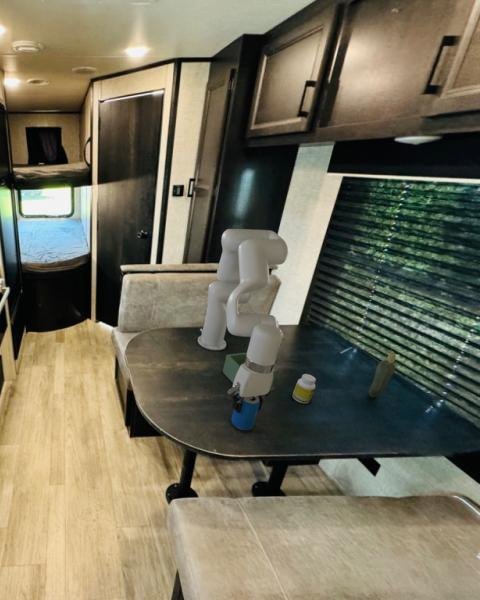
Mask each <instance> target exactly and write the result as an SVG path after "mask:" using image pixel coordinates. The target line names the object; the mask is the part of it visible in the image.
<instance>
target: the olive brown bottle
mask: <svg viewBox="0 0 480 600" xmlns="http://www.w3.org/2000/svg"><path fill="white" fill-rule="evenodd" d="M387 354H388V355H387V357H386V359H383V360H381V361H380V362H378V364H377V366H376V368H375V372H374V378H373V381H372V383H371V385H370V387H369V389H368V395H369V396H370V397H371V398H376V397H377V398H379V397H380V396H381V395H382V394H383V393H384V391H386V388H387V385H388V383H389V381H390V379H392V376H393V375H394V373H395V370H396V364H395V363H394V362H395V361H396V358H397V357H396V354H395V352H394V351H393V350H392V349H390V350H389V351H388V352H387Z"/></svg>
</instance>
